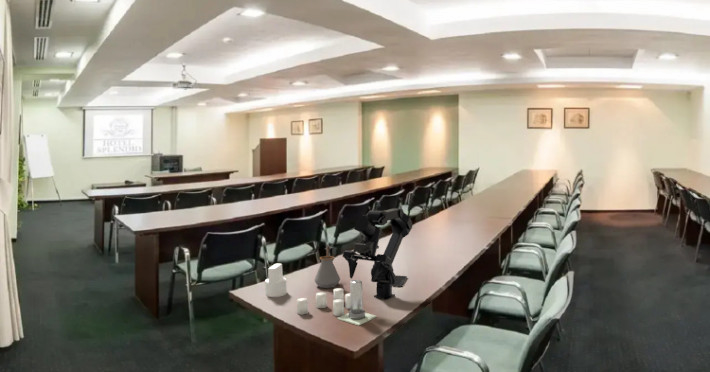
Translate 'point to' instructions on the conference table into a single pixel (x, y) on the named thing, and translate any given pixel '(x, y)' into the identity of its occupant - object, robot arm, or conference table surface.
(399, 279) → the phone
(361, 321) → the sage mat
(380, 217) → the robot arm
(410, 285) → the conference table surface
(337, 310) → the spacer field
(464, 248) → the conference table surface
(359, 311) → the silver cylinder
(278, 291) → the cylinder with rectangular tab
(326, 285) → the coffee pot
